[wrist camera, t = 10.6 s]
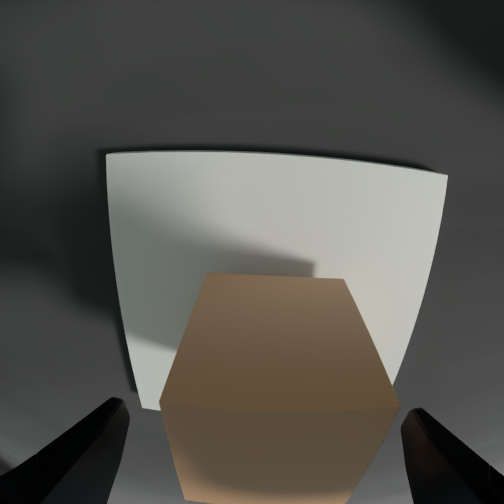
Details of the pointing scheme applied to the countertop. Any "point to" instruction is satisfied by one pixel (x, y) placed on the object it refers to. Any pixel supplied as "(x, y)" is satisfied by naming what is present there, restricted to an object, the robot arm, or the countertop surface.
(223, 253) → the post stand
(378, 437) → the tan wooden brick
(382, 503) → the countertop surface
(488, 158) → the countertop surface
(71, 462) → the robot arm
